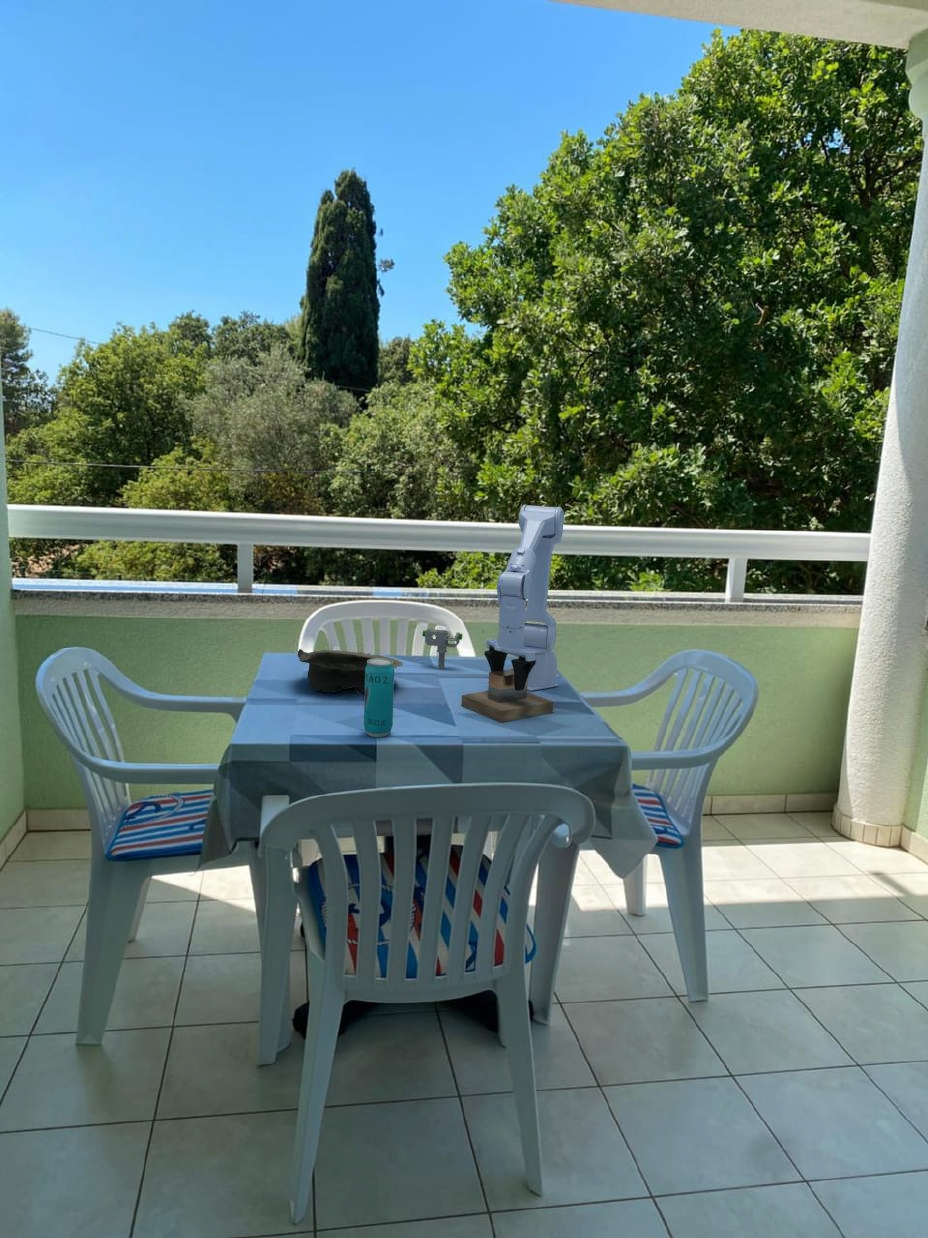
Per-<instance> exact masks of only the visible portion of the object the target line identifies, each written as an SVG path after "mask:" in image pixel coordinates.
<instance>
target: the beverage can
mask: <svg viewBox="0 0 928 1238" xmlns="http://www.w3.org/2000/svg"><path fill="white" fill-rule="evenodd" d="M394 685H395V669H394V667H393V661H392V660H389V659H384V658H374V659H369V660H367V666H366V668H365V694H364V702H363V703H364V707H363V709H364V710H363V727H364V730H365V733H366V734H367V735H368V736H370V737H374V738H383V737H387V736H389V735H390V733H391V730H392V729H393V724H394V718H393V717H394V692H395V691H394V690H395V689H394V688H395V686H394Z"/></svg>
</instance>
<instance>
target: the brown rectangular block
mask: <svg viewBox="0 0 928 1238" xmlns="http://www.w3.org/2000/svg"><path fill="white" fill-rule="evenodd" d="M487 685H488V689H487V691H488V699H490V700H493V701H495V702H498V703H502V702H508V701H513V700H519V699H524V698H527V692H528V690H527V685H528V678H527V681H526V684H525V687H524V690H519V691H516V690H515V687H514V670H513V668H509V669H504V670H501V671H495V672H491V671H490V672H488V684H487Z"/></svg>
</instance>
